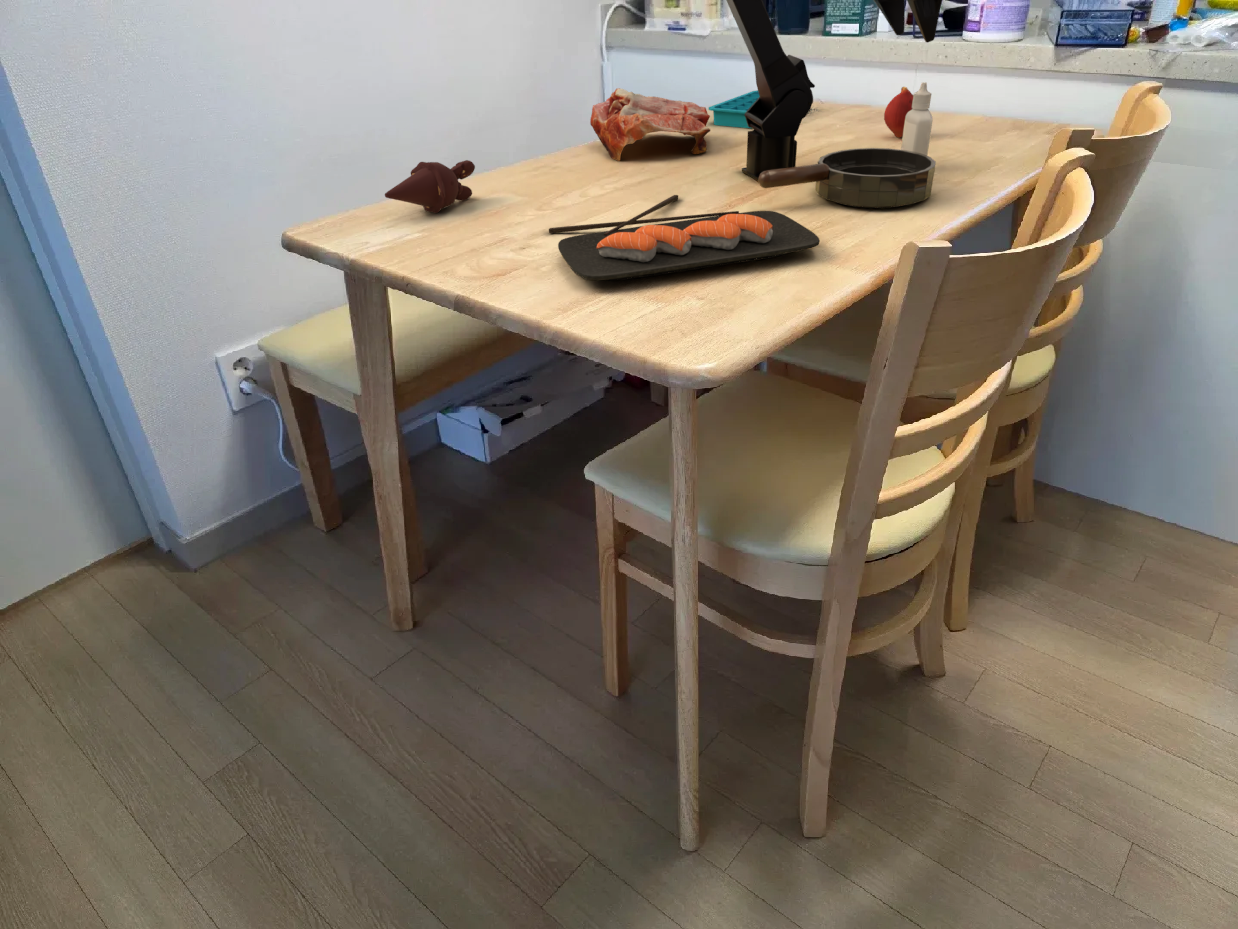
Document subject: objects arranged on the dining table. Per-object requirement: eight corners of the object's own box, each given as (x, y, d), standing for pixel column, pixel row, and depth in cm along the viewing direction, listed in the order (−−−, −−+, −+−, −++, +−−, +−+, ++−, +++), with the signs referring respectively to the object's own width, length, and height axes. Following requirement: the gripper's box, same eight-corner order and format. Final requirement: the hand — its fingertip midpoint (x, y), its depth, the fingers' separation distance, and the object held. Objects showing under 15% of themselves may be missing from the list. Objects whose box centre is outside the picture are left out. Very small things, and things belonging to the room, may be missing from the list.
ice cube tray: (705, 125, 156) (705, 108, 154) (755, 105, 169) (755, 89, 168) (760, 130, 150) (761, 112, 148) (807, 109, 163) (809, 93, 162)
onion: (913, 133, 143) (920, 82, 139) (920, 140, 138) (928, 89, 134) (879, 133, 144) (885, 84, 139) (884, 141, 139) (891, 90, 134)
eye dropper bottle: (892, 173, 122) (904, 85, 116) (900, 164, 126) (912, 78, 120) (922, 175, 121) (936, 86, 114) (930, 166, 125) (943, 79, 118)
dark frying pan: (851, 217, 106) (855, 181, 103) (796, 187, 118) (799, 155, 116) (953, 202, 109) (959, 167, 107) (890, 175, 121) (894, 143, 119)
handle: (762, 190, 107) (763, 173, 106) (755, 186, 109) (755, 169, 108) (832, 181, 110) (834, 164, 108) (824, 177, 111) (826, 160, 110)
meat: (659, 128, 155) (658, 70, 150) (739, 145, 141) (741, 81, 135) (569, 148, 145) (564, 86, 140) (644, 168, 131) (642, 101, 125)
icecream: (403, 180, 106) (491, 166, 116) (369, 158, 109) (458, 146, 119) (401, 230, 111) (486, 212, 120) (368, 208, 114) (454, 192, 124)
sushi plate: (582, 296, 88) (579, 262, 86) (528, 217, 112) (525, 189, 110) (828, 259, 94) (832, 225, 92) (727, 191, 118) (727, 164, 116)
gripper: (997, -114, 101) (1004, 22, 110) (925, -109, 116) (936, 10, 125) (911, -79, 101) (924, 54, 110) (851, -78, 117) (867, 38, 125)
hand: (914, 37), depth 118 cm, fingers open, 9 cm apart
